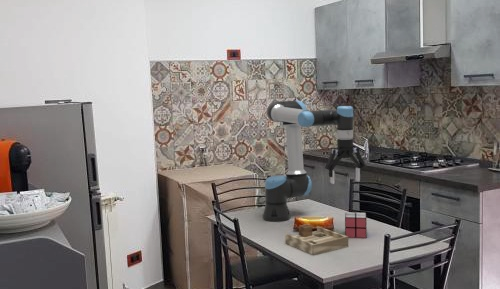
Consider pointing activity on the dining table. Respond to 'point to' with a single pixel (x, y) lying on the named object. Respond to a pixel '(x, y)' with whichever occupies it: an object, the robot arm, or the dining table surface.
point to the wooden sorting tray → (318, 241)
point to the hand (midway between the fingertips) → (345, 182)
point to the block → (305, 230)
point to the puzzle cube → (355, 225)
